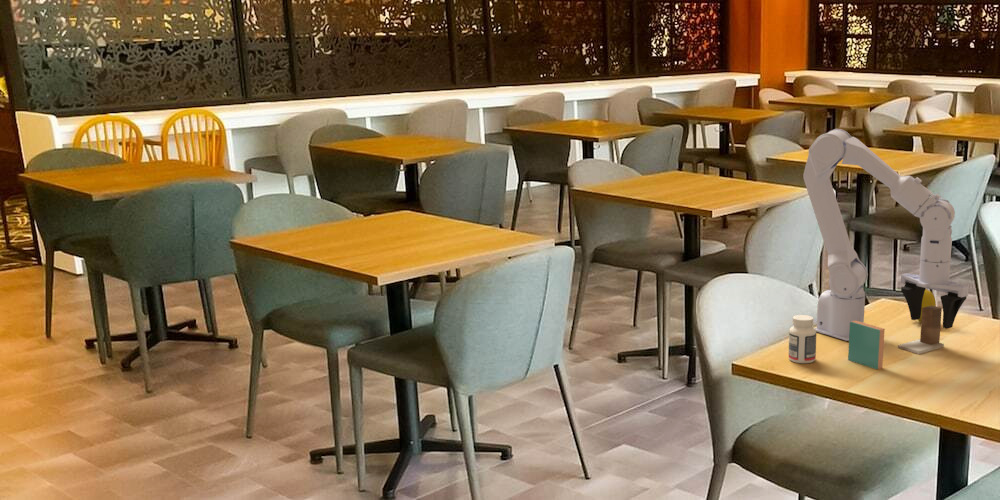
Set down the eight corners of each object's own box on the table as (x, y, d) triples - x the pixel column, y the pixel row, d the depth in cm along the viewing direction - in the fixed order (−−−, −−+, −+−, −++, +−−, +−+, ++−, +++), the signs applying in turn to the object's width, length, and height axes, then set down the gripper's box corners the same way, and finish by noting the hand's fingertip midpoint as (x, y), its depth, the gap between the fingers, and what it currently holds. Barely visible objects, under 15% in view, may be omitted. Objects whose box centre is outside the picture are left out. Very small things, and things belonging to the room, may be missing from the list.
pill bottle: (816, 356, 210) (817, 314, 208) (814, 364, 205) (816, 322, 203) (789, 354, 212) (790, 313, 210) (787, 362, 207) (788, 320, 205)
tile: (848, 360, 207) (849, 321, 206) (853, 358, 208) (855, 320, 206) (876, 369, 202) (879, 330, 200) (882, 367, 202) (884, 328, 201)
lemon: (936, 326, 227) (939, 291, 225) (910, 325, 228) (912, 290, 226) (931, 319, 232) (934, 284, 230) (905, 318, 233) (907, 284, 232)
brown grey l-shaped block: (898, 347, 214) (900, 310, 212) (923, 340, 218) (926, 303, 216) (918, 354, 209) (921, 316, 208) (944, 346, 214) (947, 309, 212)
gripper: (892, 256, 215) (889, 318, 218) (954, 269, 203) (950, 335, 206) (914, 251, 218) (911, 313, 221) (976, 263, 206) (972, 328, 209)
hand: (931, 323), depth 214 cm, fingers open, 7 cm apart
